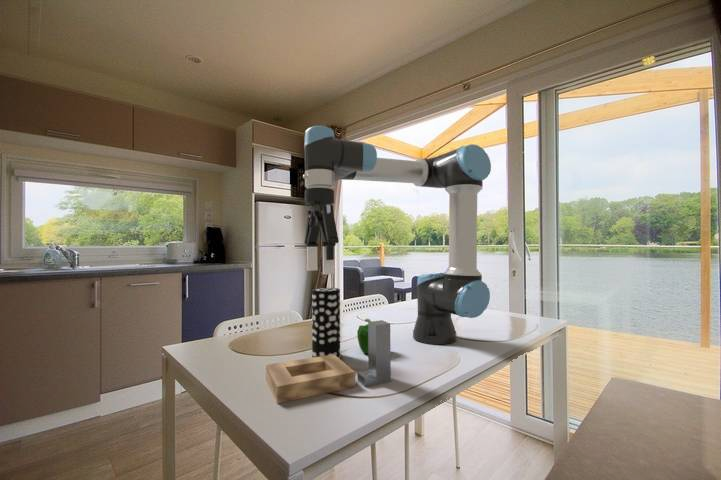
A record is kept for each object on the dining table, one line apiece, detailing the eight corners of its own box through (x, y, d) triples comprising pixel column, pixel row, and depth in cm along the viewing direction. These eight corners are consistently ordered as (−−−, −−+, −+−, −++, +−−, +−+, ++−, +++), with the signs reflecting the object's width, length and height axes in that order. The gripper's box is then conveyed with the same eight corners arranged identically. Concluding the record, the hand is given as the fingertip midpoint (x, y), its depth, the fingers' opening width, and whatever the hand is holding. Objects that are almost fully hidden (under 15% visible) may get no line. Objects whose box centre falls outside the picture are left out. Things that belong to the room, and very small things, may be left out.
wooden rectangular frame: (333, 367, 88) (333, 354, 88) (355, 387, 76) (355, 371, 76) (265, 379, 81) (266, 364, 81) (277, 403, 68) (277, 386, 68)
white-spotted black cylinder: (335, 362, 92) (335, 291, 92) (308, 360, 94) (307, 291, 94) (343, 353, 100) (342, 288, 101) (317, 351, 102) (317, 287, 102)
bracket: (382, 375, 82) (382, 320, 83) (390, 381, 79) (390, 323, 79) (357, 380, 79) (357, 323, 80) (364, 387, 76) (364, 326, 76)
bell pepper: (387, 355, 98) (386, 322, 98) (360, 357, 96) (359, 323, 97) (380, 347, 106) (380, 316, 106) (355, 348, 105) (355, 317, 105)
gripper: (293, 195, 93) (293, 269, 92) (320, 178, 70) (320, 276, 70) (318, 196, 96) (319, 268, 95) (352, 181, 73) (353, 275, 73)
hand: (319, 272), depth 83 cm, fingers open, 13 cm apart
